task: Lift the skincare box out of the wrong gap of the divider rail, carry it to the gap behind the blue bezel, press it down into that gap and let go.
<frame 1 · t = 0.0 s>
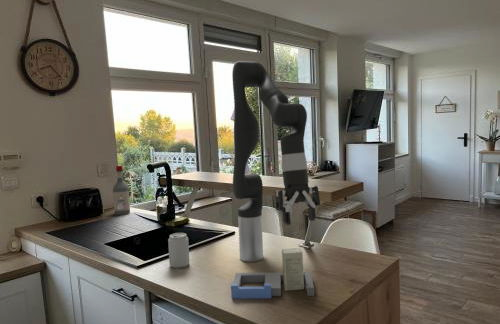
hand: (300, 222, 112), 22 cm above the worktop, tool pointing down, fingers open, 8 cm apart
liquor: (122, 213, 233), on the worktop
divider rail: (271, 288, 118), on the worktop
skincare box: (293, 288, 119), resting in divider rail
can: (179, 265, 142), on the worktop
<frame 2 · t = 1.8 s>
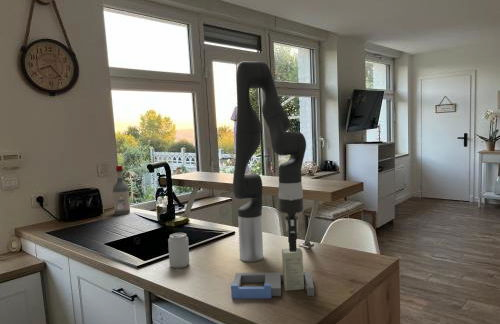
hand: (292, 246, 117), 13 cm above the worktop, tool pointing down, fingers open, 8 cm apart
nothing on the worktop moved.
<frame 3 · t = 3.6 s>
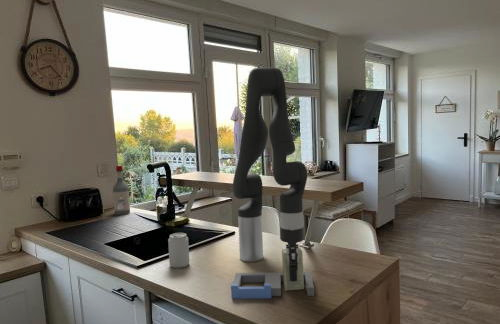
hand: (293, 277, 119), 3 cm above the worktop, tool pointing down, fingers closed on skincare box, 4 cm apart
skincare box: (293, 287, 119), resting in divider rail, touching gripper
everything else where it was.
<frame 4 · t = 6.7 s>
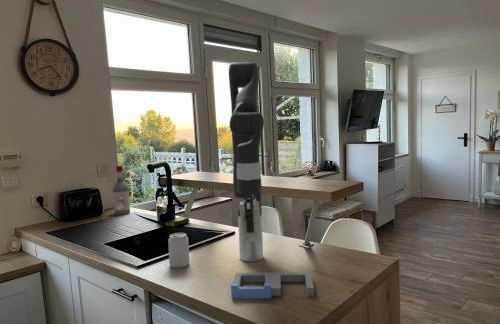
hand: (250, 229, 118), 19 cm above the worktop, tool pointing down, fingers closed on skincare box, 4 cm apart
skincare box: (251, 240, 118), point 15 cm above the worktop, touching gripper
everything else where it was.
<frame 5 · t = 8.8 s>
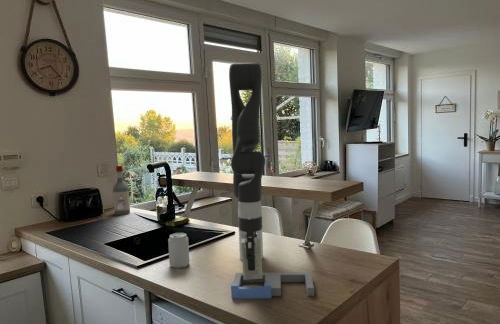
hand: (252, 266, 119), 7 cm above the worktop, tool pointing down, fingers closed on skincare box, 4 cm apart
skincare box: (252, 277, 119), point 3 cm above the worktop, touching gripper
everything else where it was.
when the fingers open (4 cm above the worktop, at t = 10.1 s): skincare box stays where it is, resting in divider rail.
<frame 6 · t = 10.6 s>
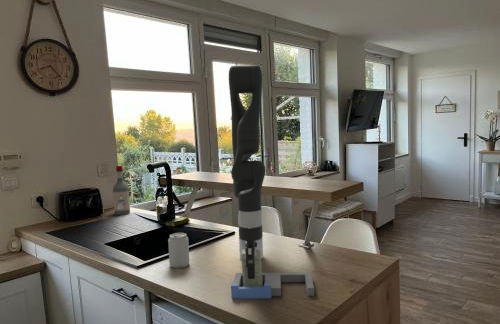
hand: (252, 272, 119), 5 cm above the worktop, tool pointing down, fingers open, 8 cm apart
skincare box: (252, 288, 120), resting in divider rail
everything else where it was.
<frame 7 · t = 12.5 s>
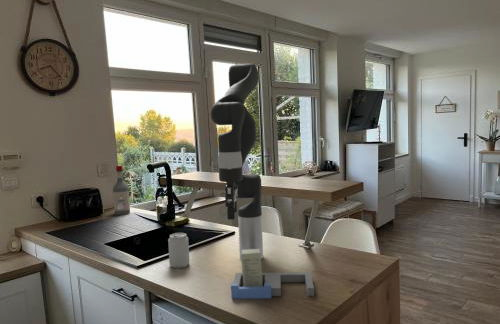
hand: (232, 215, 120), 23 cm above the worktop, tool pointing down, fingers open, 8 cm apart
nothing on the worktop moved.
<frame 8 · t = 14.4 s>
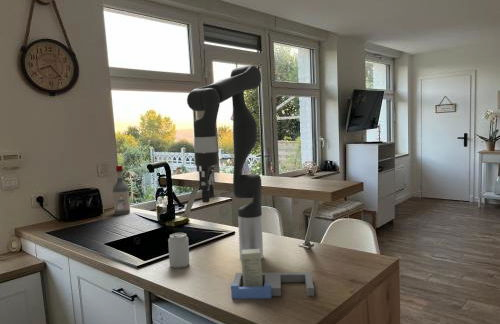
hand: (208, 199, 123), 28 cm above the worktop, tool pointing down, fingers open, 8 cm apart
nothing on the worktop moved.
at the end: skincare box 0.1 cm from the target spot, resting in divider rail; skincare box tilted 0°; the gripper is holding nothing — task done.
